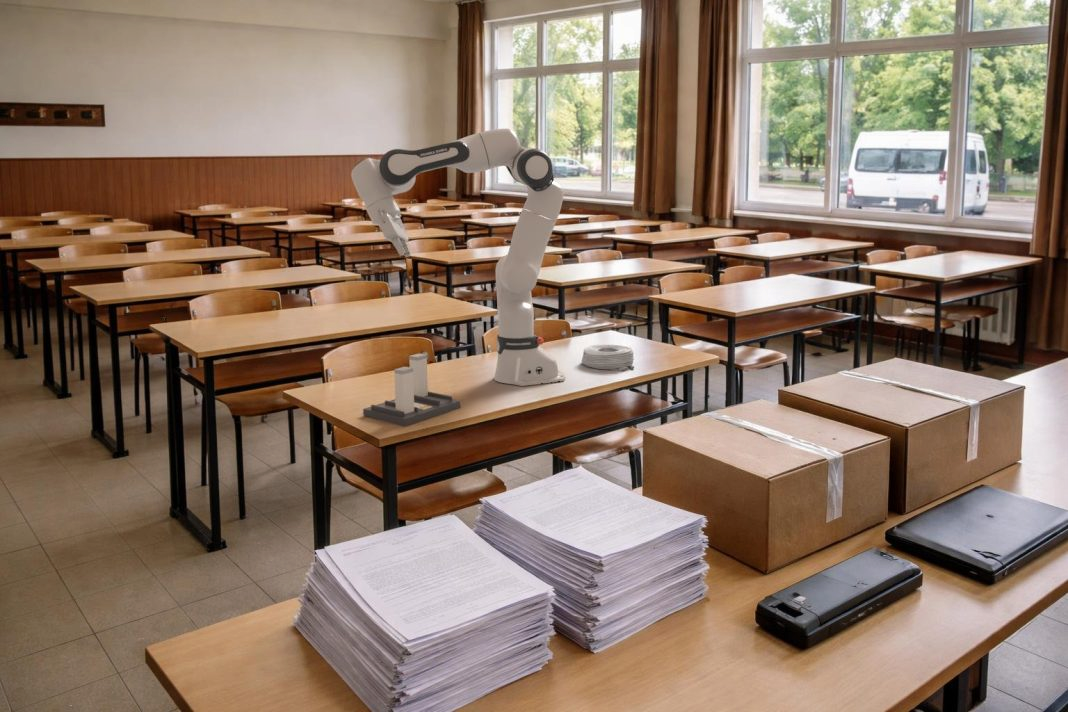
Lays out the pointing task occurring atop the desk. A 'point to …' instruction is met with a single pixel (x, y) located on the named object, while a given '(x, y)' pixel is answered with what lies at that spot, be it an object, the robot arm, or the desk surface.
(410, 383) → the white rectangular block
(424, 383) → the tall white block
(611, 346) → the cable
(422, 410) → the fixture base
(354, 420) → the desk surface
